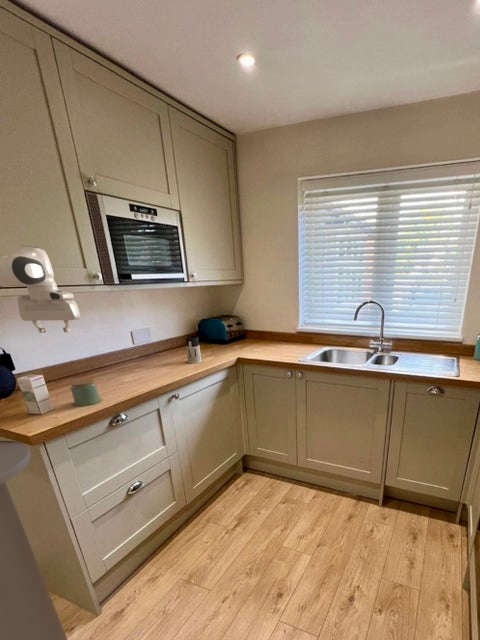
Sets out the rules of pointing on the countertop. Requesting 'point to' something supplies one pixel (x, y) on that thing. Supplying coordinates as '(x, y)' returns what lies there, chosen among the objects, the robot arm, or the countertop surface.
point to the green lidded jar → (85, 392)
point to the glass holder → (193, 349)
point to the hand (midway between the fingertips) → (55, 332)
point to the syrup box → (35, 394)
